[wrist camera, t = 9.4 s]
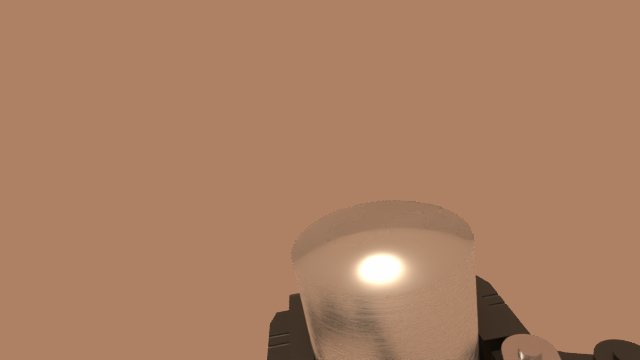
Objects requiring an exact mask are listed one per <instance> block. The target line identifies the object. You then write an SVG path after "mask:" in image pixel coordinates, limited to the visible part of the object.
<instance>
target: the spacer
mask: <svg viewBox="0 0 640 360" xmlns="http://www.w3.org/2000/svg"><path fill="white" fill-rule="evenodd" d="M292 262H293V266H294V271H295V275H296V279H297V284H298V288H299V292H300V297H301V301H302V305H303V310H304V314H305V318H306V323H307V327H308V331H309V335H310V340H311V344H312V348H313V352H314V357H315V360H479V338H478V317H477V295H476V274H475V252H474V237H473V233H472V230H471V228H470V227H469V225H468V224H467V223H466V222H465V221H464V220H463V219H462V218H461V217H459V216H458V215H457V214H455V213H453V212H451V211H449V210H447V209H444V208H442V207H439V206H435V205H432V204H427V203H421V202H415V201H378V202H371V203H365V204H360V205H355V206H352V207H348V208H345V209H341V210H339V211H336V212H333V213H331V214H329V215H327V216H325V217H323V218H321V219H319V220H317V221H316V222H314V223H313V224H311V225H310V226H309V227H307V228H306V229H305V230H304V231H303V232H302V233H301V234H300V236H299V237H298V238H297V240H296V241H295V243H294V245H293V249H292Z"/></svg>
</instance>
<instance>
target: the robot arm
mask: <svg viewBox="0 0 640 360" xmlns="http://www.w3.org/2000/svg"><path fill="white" fill-rule="evenodd" d="M476 295H477V317H478V338H479V360H640V346H639V345H637V344H635V343H632V342H628V341H624V340H613V339H612V340H606V341H602V342H600V343H598V344H597V345H596V346H595V348H594V355H591V354H577V353H565V352H561V351H557V350H556V349H555V347H554V346H553V345H552V344H550V343H549V342H548V341H546V340H544V339H542V338H540V337H537V336H534V335H531V334H530V333H529V332H528V331H527V329H526V328H525V327H524V326H523V324H522V323H521V322H520V321H519V319H518V318H517V317H516V316H515V314H514V313H513V312H512V311H511V309H510V308H509V307H508V306H507V304H505V302H504V301H503V299H502V298H501V297H500V296H498V293H497V292H496V291H495V289H494V288H493V287H492V286H491V284H490V283H488V282H487V281H485V280H483V279H482V278H480V277H478V276H476ZM289 299H290V300H289V310H288V311H283V312H278V313H276V315H275V317H274V318H273V320H272V322H271V323H270V332H269V343H268V347H269V348H268V356H267V360H315V357H314V352H313V348H312V344H311V340H310V335H309V331H308V327H307V323H306V318H305V314H304V310H303V305H302V301H301V297H300V293H298V294H292V295H290V297H289Z"/></svg>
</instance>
